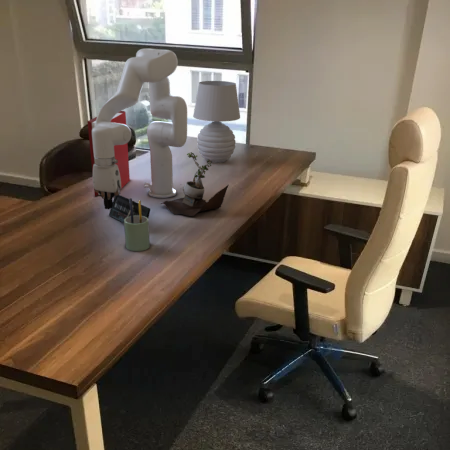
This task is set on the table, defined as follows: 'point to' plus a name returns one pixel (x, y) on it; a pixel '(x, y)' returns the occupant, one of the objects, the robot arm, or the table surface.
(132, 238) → the pen cup
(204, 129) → the table lamp
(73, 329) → the table surface
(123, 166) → the book
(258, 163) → the table surface
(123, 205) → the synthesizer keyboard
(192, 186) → the potted plant
